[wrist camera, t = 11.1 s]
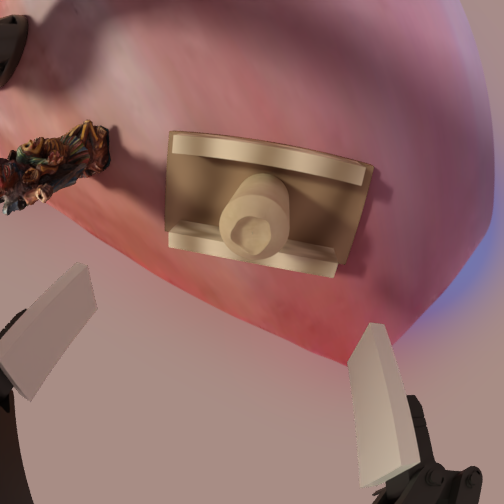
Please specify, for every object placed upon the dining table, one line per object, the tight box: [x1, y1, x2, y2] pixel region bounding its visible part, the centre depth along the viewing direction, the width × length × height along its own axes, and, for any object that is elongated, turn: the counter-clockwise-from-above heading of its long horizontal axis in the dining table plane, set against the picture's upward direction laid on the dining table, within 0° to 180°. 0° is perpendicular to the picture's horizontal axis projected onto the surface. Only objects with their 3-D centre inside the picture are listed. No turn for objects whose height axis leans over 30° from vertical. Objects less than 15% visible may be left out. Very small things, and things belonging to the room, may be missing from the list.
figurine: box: [0, 120, 111, 215], centre depth 21 cm, size 11×9×18 cm
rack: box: [165, 131, 374, 278], centre depth 28 cm, size 22×12×5 cm, turn 82°
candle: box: [219, 173, 290, 260], centre depth 24 cm, size 6×6×10 cm
